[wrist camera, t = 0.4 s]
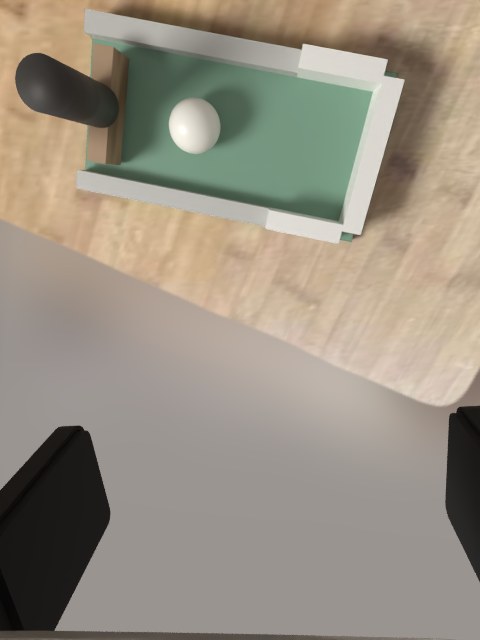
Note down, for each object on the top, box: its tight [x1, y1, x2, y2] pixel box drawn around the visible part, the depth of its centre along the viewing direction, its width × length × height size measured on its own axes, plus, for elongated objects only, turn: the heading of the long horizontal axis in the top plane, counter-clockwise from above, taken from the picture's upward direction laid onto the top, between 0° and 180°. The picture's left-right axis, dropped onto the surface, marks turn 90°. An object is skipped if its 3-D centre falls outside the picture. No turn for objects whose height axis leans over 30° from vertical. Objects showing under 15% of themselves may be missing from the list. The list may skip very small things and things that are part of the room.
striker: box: [15, 43, 129, 165], centre depth 29 cm, size 8×3×11 cm, turn 169°
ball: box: [169, 97, 220, 154], centre depth 32 cm, size 4×4×4 cm
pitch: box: [76, 9, 405, 244], centre depth 33 cm, size 13×24×4 cm, turn 79°
